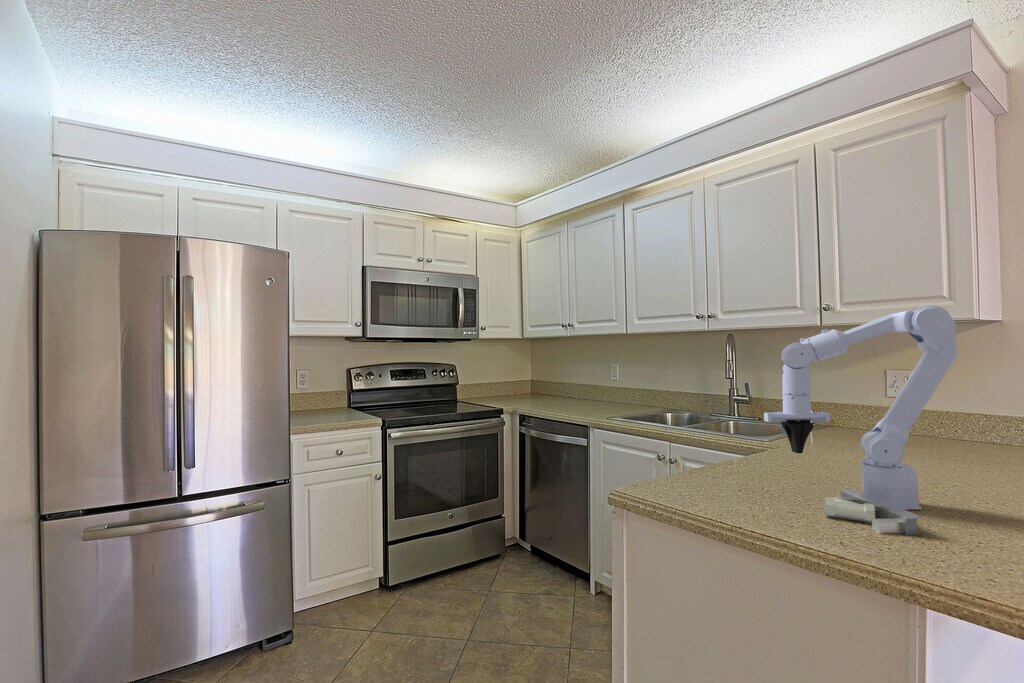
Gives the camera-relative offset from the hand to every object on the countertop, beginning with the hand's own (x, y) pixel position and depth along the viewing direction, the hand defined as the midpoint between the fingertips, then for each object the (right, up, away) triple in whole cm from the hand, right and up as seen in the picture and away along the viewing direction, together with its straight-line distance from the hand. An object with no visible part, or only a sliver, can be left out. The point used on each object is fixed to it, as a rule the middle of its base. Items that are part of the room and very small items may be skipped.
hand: (797, 452), depth 116 cm
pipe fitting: (+2, -10, -16) cm, 19 cm away
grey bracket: (+4, -10, -17) cm, 20 cm away
